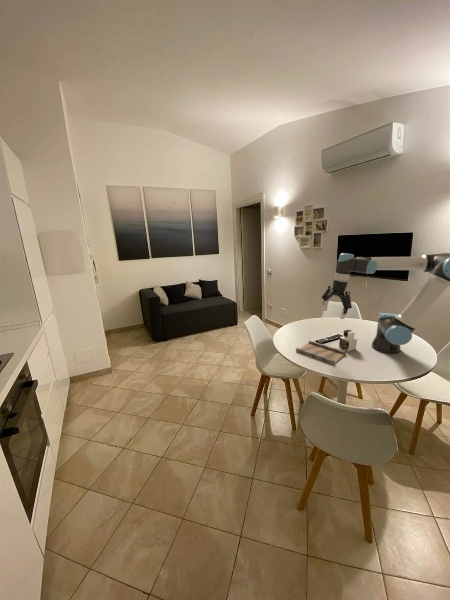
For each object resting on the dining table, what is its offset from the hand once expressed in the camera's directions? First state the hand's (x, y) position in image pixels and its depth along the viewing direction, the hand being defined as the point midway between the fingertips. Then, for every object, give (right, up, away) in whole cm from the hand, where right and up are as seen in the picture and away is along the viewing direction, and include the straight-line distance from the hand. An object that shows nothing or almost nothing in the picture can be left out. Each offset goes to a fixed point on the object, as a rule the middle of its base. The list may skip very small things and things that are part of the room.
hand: (332, 314), depth 147 cm
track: (-6, -24, +4) cm, 25 cm away
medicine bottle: (+13, -23, +9) cm, 28 cm away
